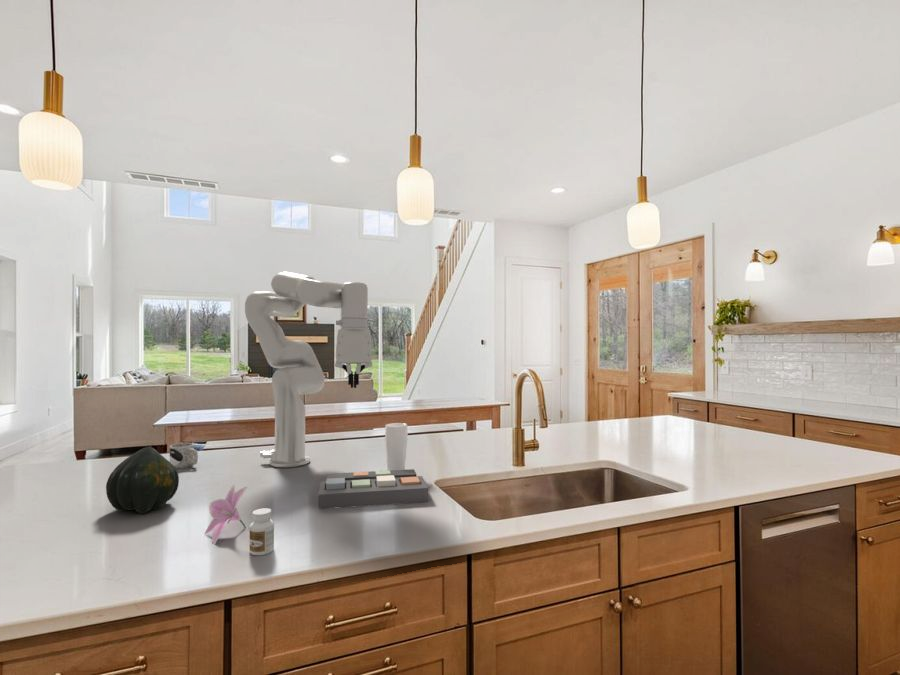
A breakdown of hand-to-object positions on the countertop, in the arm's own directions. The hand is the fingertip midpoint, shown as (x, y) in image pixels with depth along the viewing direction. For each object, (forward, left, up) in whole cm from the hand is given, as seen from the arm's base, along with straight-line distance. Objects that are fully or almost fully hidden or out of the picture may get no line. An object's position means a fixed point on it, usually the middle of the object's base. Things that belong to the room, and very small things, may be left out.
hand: (353, 387), depth 139 cm
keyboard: (+5, -15, -27) cm, 31 cm away
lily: (-27, -34, -27) cm, 51 cm away
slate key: (-5, -17, -25) cm, 30 cm away
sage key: (+2, -17, -25) cm, 30 cm away
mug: (-52, +24, -27) cm, 63 cm away
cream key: (+8, -17, -25) cm, 31 cm away
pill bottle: (-18, -44, -27) cm, 55 cm away
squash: (-50, -14, -27) cm, 59 cm away
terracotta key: (+15, -17, -25) cm, 34 cm away
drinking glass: (+13, +3, -27) cm, 30 cm away
